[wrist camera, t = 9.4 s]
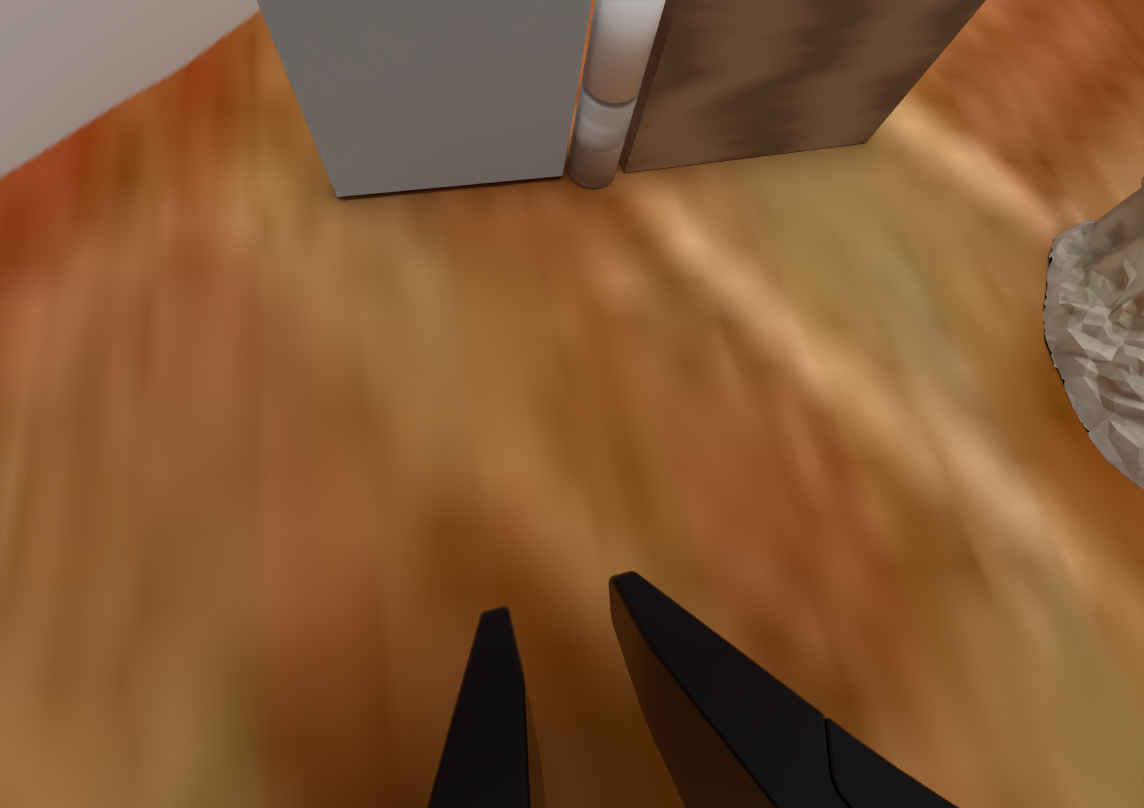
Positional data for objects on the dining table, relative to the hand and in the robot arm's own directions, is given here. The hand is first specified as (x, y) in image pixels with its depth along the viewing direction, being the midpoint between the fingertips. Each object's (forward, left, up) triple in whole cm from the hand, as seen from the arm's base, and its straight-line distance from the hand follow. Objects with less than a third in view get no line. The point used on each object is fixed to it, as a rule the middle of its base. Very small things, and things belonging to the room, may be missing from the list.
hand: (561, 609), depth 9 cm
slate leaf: (+12, -15, -13) cm, 23 cm away
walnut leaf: (+3, -24, -13) cm, 27 cm away
